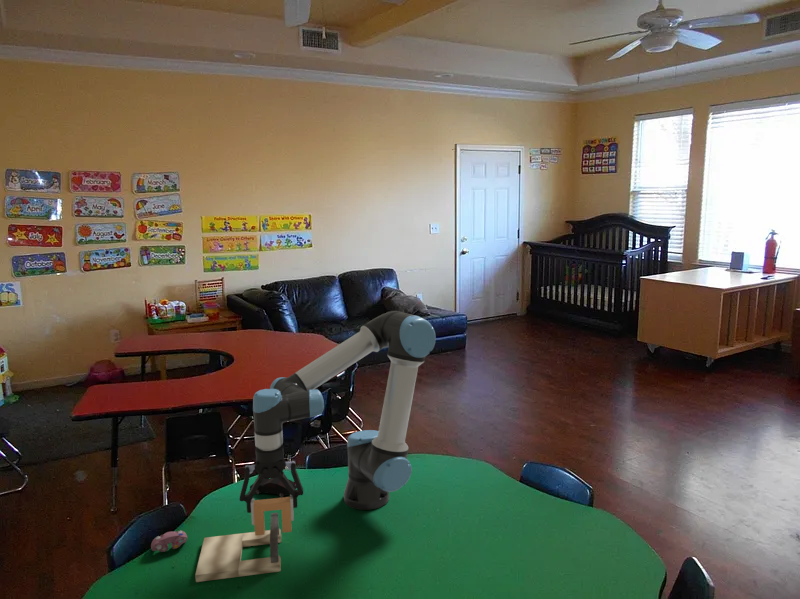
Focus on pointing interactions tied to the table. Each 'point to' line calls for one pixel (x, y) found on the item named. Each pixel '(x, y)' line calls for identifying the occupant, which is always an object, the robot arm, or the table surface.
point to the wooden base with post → (238, 554)
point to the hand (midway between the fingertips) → (273, 520)
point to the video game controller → (169, 541)
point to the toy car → (273, 487)
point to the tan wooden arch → (269, 506)
